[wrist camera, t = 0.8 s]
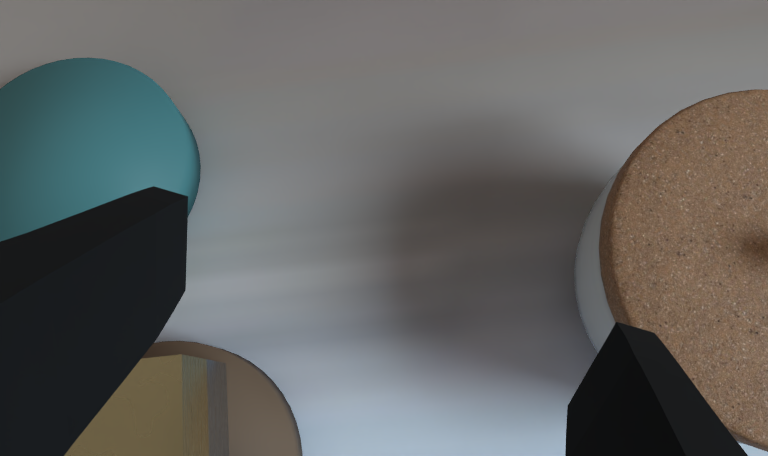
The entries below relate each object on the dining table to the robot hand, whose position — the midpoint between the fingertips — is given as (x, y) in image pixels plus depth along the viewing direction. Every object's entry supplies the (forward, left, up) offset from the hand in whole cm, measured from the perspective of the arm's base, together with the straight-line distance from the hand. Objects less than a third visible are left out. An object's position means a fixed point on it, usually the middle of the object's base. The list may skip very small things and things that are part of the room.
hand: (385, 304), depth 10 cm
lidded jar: (+9, -8, -14) cm, 19 cm away
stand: (-2, +14, -14) cm, 20 cm away
